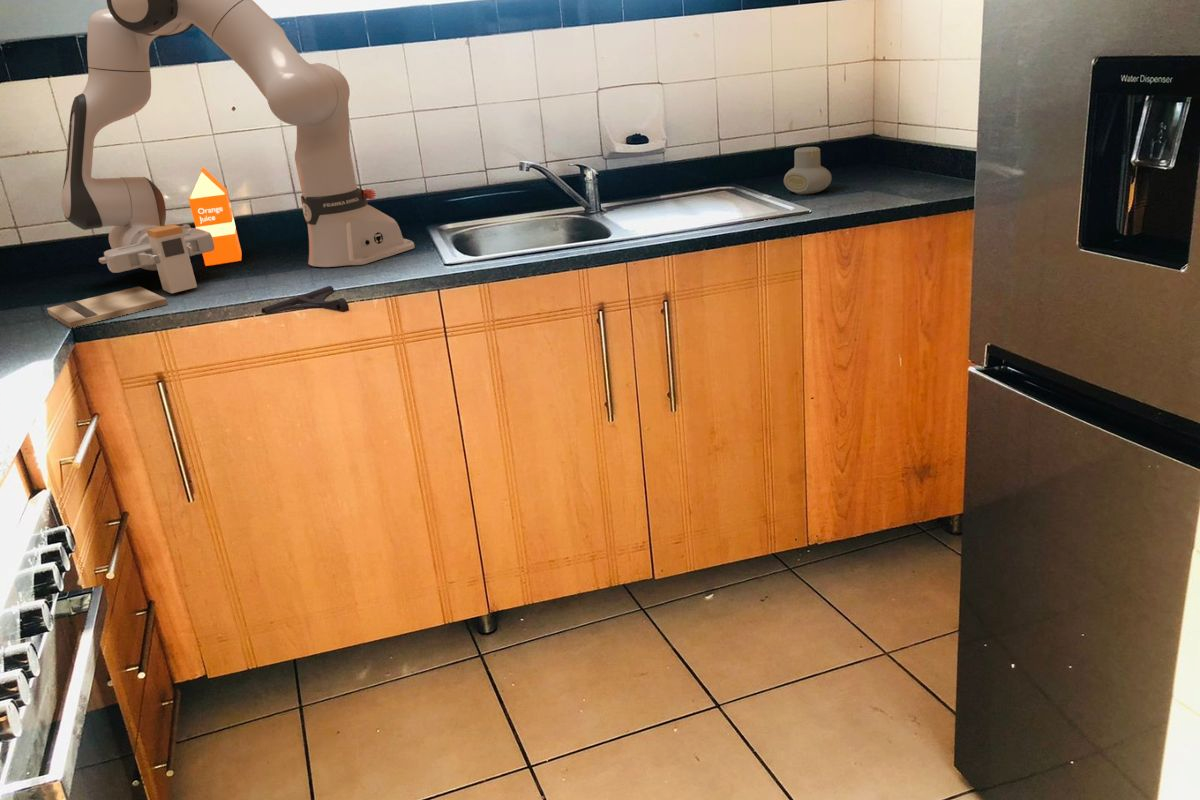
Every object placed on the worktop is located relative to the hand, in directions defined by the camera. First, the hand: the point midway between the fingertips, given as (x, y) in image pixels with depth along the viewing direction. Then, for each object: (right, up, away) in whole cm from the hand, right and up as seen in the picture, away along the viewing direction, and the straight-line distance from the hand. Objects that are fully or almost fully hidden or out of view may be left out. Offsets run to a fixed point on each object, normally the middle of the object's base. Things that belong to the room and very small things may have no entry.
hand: (172, 255), depth 183 cm
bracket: (+33, -12, -16) cm, 39 cm away
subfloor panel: (-10, -11, -5) cm, 16 cm away
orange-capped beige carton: (0, -6, +3) cm, 7 cm away
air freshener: (+132, +21, +39) cm, 139 cm away
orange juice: (-1, +3, +29) cm, 29 cm away
